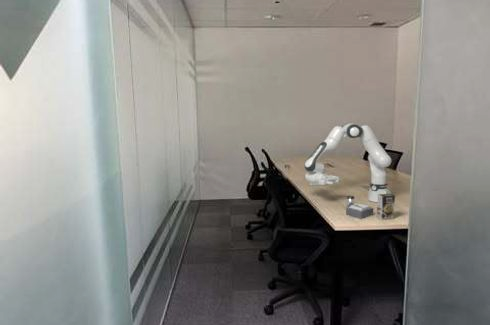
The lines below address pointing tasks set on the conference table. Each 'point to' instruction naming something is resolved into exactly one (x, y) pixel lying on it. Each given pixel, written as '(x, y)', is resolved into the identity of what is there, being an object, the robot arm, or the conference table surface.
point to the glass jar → (350, 201)
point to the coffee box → (385, 206)
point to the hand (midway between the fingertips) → (337, 182)
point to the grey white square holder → (359, 211)
